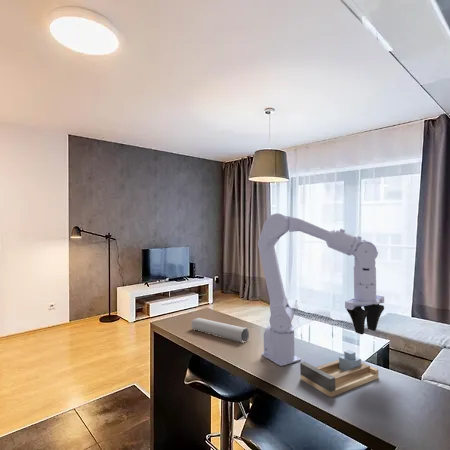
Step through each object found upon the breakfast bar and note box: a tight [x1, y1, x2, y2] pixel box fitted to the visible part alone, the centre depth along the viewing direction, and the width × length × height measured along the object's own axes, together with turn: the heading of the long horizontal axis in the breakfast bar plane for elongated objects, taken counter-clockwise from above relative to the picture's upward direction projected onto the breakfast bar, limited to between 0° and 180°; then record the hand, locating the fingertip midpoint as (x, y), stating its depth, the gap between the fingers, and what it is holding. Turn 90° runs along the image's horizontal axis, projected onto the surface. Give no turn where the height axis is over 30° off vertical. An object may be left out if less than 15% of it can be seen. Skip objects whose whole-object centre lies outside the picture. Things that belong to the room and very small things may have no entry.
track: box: [299, 359, 379, 398], centre depth 80 cm, size 10×18×4 cm, turn 119°
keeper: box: [338, 349, 362, 372], centre depth 82 cm, size 4×4×5 cm
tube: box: [190, 317, 250, 344], centre depth 113 cm, size 5×5×25 cm
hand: (365, 331), depth 85 cm, fingers open, 5 cm apart
